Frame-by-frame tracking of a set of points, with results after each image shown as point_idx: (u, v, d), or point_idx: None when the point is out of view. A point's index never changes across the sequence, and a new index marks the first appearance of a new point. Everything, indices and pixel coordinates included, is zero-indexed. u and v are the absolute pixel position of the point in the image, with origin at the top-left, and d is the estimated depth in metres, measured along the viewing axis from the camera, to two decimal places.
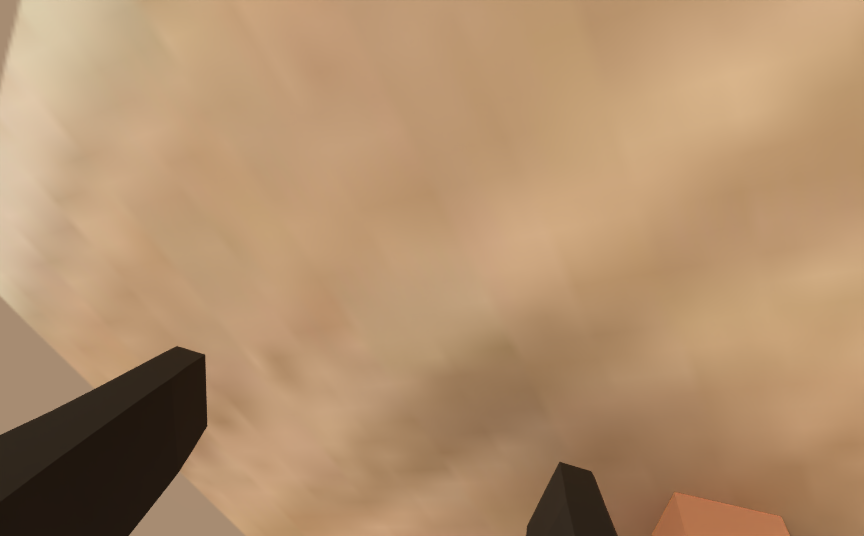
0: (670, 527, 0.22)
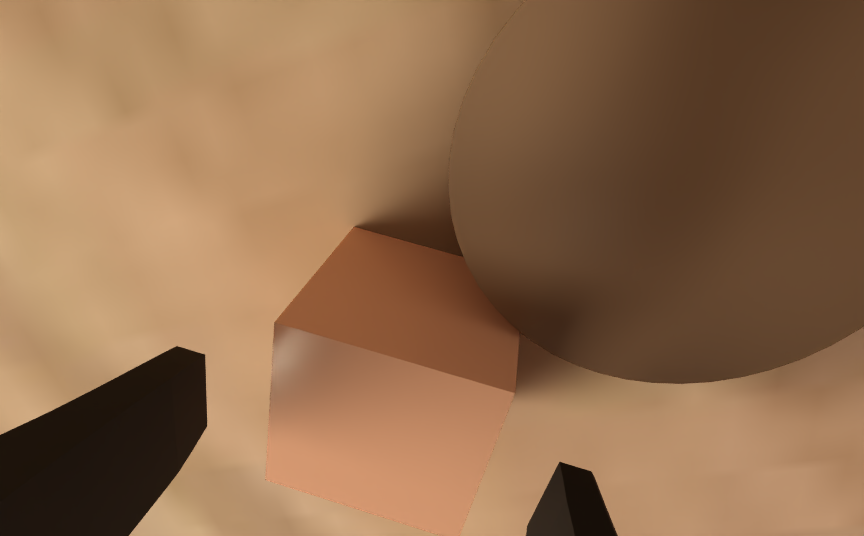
0: None
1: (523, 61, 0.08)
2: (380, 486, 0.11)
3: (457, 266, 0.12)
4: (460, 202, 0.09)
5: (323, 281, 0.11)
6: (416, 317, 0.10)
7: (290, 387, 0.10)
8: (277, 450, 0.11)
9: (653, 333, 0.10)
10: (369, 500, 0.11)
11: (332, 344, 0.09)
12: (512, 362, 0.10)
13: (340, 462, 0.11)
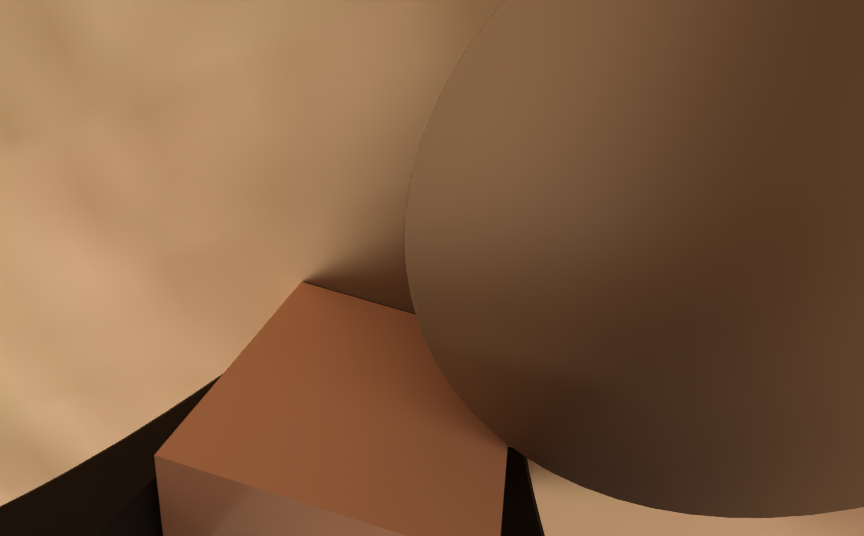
0: None
1: (509, 87, 0.05)
2: None
3: None
4: (422, 281, 0.06)
5: (242, 375, 0.08)
6: (364, 429, 0.07)
7: (188, 532, 0.07)
8: None
9: (692, 455, 0.07)
10: None
11: (236, 487, 0.06)
12: (495, 503, 0.07)
13: None
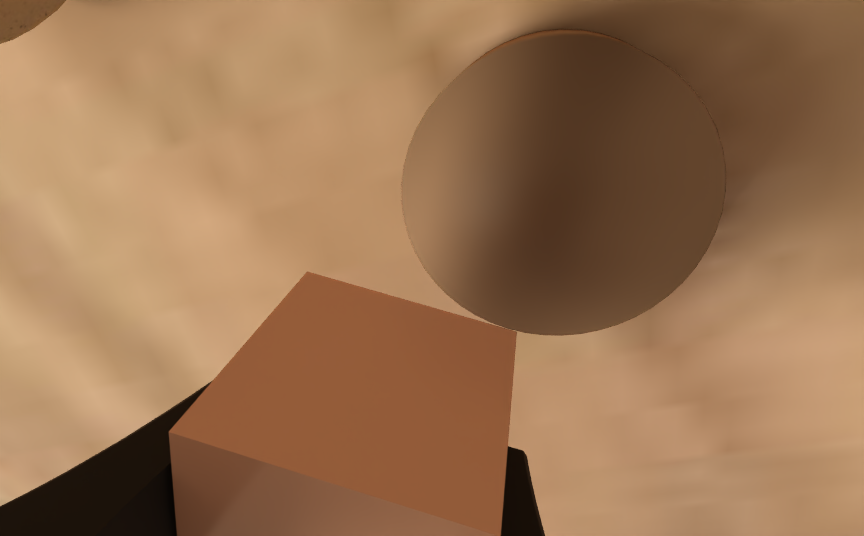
0: None
1: (445, 124, 0.13)
2: None
3: (432, 326, 0.10)
4: (409, 211, 0.14)
5: (251, 358, 0.08)
6: (370, 410, 0.08)
7: (200, 509, 0.07)
8: None
9: (540, 300, 0.14)
10: None
11: (248, 463, 0.07)
12: (497, 480, 0.07)
13: None
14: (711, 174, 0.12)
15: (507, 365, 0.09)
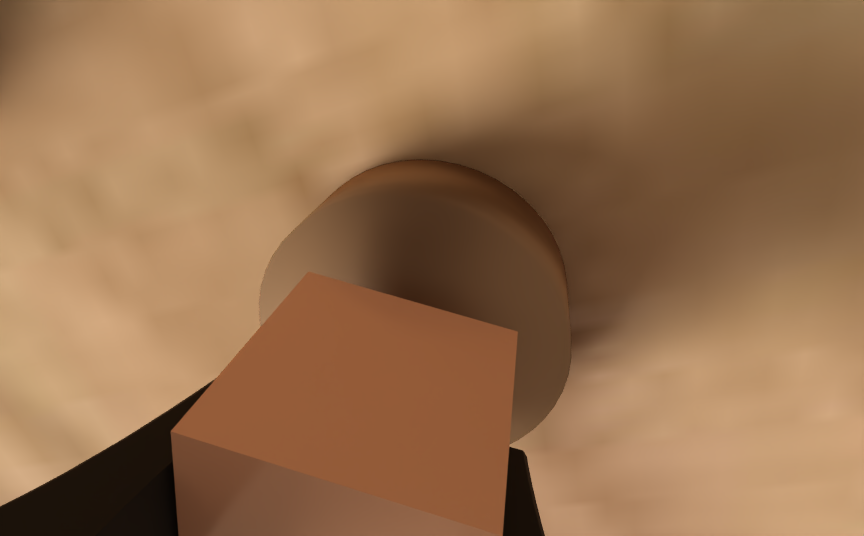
0: None
1: (291, 269, 0.12)
2: None
3: (433, 326, 0.10)
4: None
5: (253, 358, 0.08)
6: (372, 410, 0.08)
7: (202, 508, 0.07)
8: None
9: None
10: None
11: (250, 462, 0.07)
12: (499, 479, 0.07)
13: None
14: (554, 325, 0.12)
15: (508, 365, 0.09)
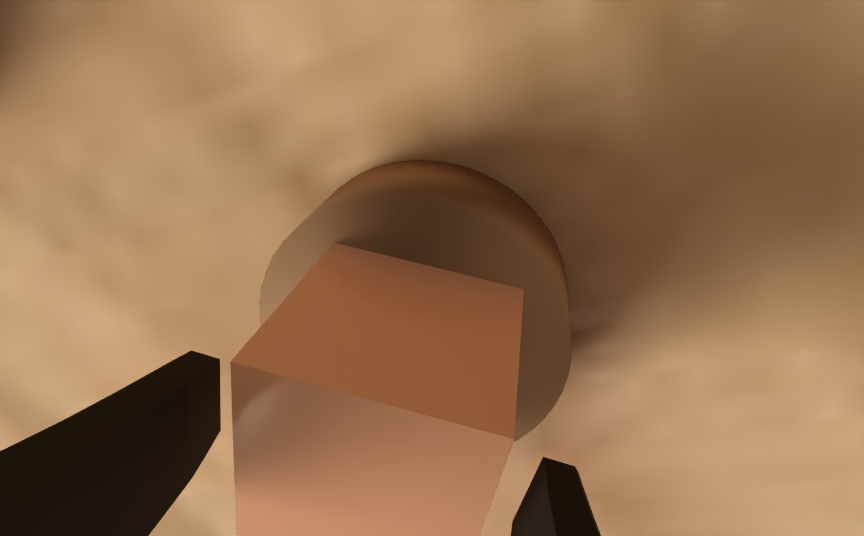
0: None
1: (292, 269, 0.12)
2: None
3: (448, 285, 0.11)
4: None
5: (293, 308, 0.09)
6: (397, 347, 0.09)
7: (255, 434, 0.09)
8: (246, 502, 0.10)
9: None
10: None
11: (298, 386, 0.08)
12: (510, 399, 0.08)
13: (317, 516, 0.09)
14: (554, 325, 0.12)
15: (516, 315, 0.10)
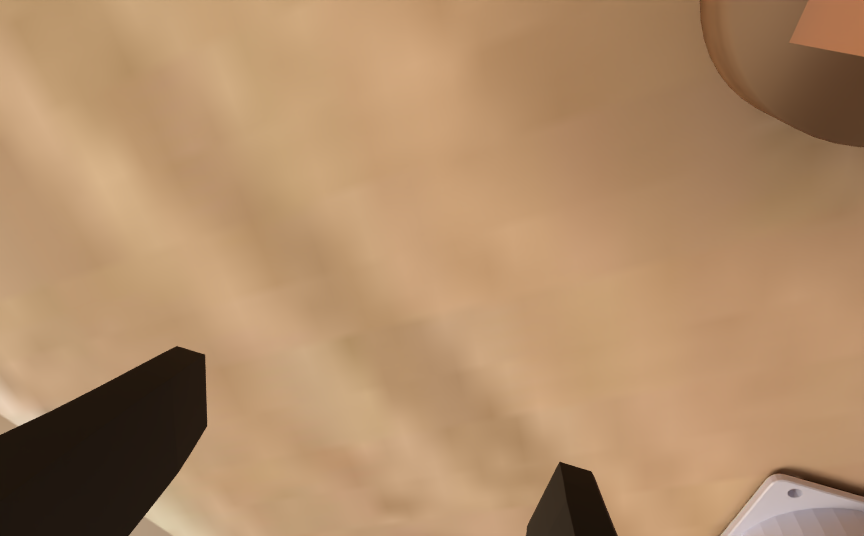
0: None
1: None
2: None
3: None
4: None
5: None
6: None
7: None
8: None
9: None
10: None
11: None
12: None
13: None
14: None
15: None
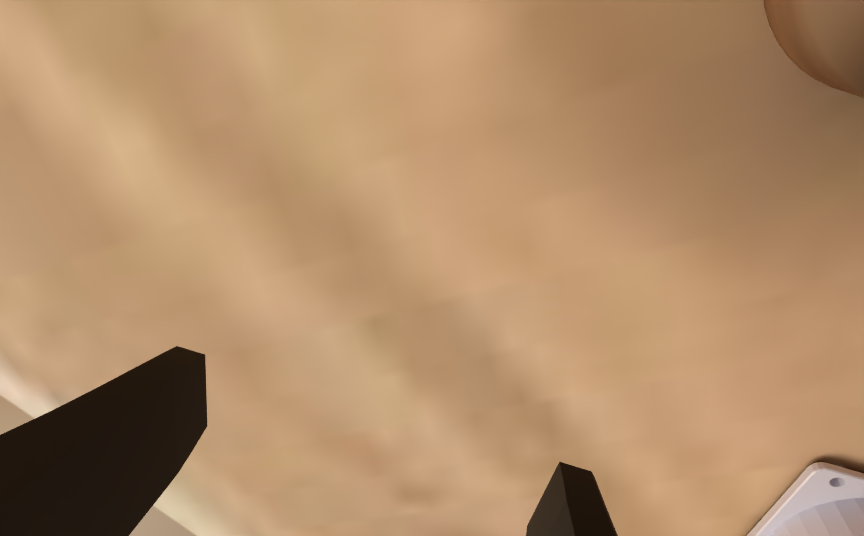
0: None
1: None
2: None
3: None
4: None
5: None
6: None
7: None
8: None
9: None
10: None
11: None
12: None
13: None
14: None
15: None
